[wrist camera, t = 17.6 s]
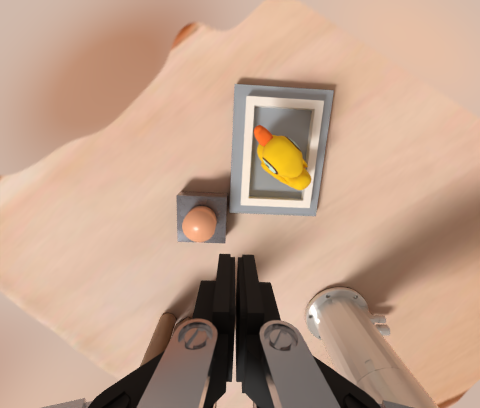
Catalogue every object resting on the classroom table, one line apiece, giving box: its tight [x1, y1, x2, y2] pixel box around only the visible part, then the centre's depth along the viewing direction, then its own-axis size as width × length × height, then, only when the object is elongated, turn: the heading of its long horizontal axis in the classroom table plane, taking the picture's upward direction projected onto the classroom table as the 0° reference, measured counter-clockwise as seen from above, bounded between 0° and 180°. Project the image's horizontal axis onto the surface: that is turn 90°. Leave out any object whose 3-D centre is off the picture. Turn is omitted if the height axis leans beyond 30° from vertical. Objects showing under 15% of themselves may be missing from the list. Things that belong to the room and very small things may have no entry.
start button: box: [182, 206, 217, 242], centre depth 36 cm, size 5×5×3 cm
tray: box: [229, 84, 334, 216], centre depth 37 cm, size 15×20×3 cm
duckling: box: [254, 125, 311, 190], centre depth 32 cm, size 11×5×10 cm, turn 45°
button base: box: [177, 192, 227, 243], centre depth 39 cm, size 8×8×3 cm
